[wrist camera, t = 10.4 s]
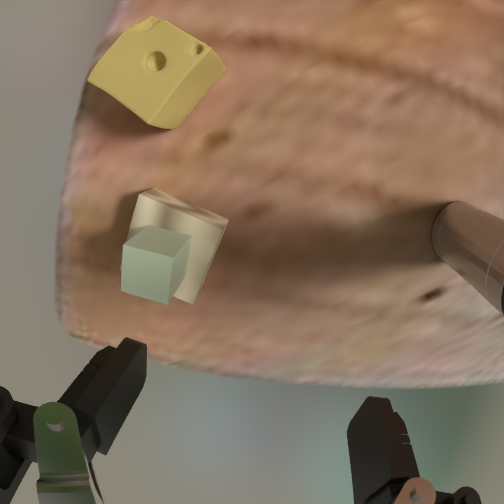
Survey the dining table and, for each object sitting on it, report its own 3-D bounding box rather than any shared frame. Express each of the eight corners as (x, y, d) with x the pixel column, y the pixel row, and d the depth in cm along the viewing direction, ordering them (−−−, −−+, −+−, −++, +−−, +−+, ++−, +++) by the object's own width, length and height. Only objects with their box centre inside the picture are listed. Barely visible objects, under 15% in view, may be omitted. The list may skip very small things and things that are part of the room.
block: (191, 235, 35) (173, 257, 29) (185, 276, 37) (167, 305, 31) (149, 225, 35) (123, 244, 28) (144, 265, 37) (120, 290, 30)
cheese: (172, 30, 30) (142, 3, 21) (233, 71, 32) (218, 48, 23) (123, 90, 34) (82, 80, 24) (180, 134, 36) (148, 132, 26)
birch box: (229, 219, 39) (223, 229, 35) (201, 287, 43) (192, 304, 38) (154, 187, 38) (139, 194, 34) (134, 257, 42) (119, 270, 38)
